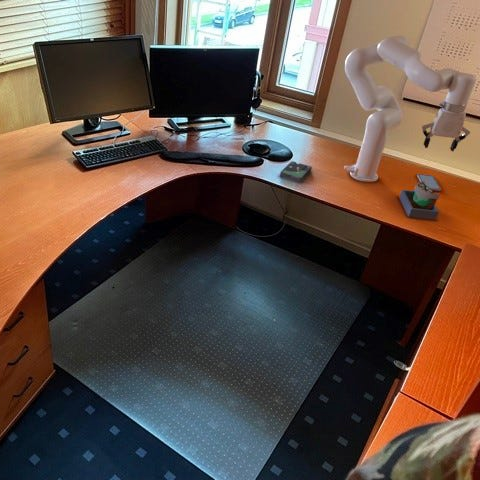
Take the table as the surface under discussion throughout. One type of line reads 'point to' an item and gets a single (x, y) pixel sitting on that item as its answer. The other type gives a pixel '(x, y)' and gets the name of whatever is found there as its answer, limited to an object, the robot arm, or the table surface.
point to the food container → (424, 197)
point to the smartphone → (429, 181)
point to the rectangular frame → (416, 212)
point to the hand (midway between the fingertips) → (438, 148)
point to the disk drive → (295, 171)
